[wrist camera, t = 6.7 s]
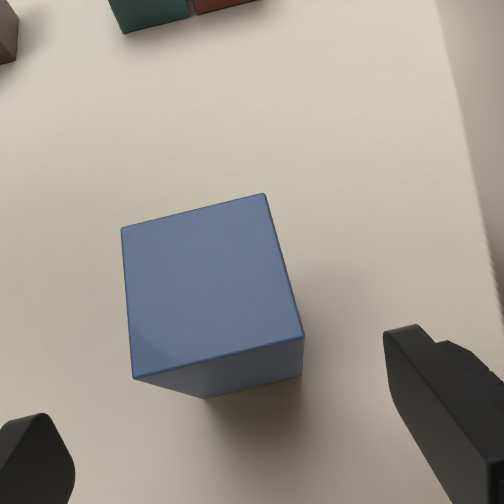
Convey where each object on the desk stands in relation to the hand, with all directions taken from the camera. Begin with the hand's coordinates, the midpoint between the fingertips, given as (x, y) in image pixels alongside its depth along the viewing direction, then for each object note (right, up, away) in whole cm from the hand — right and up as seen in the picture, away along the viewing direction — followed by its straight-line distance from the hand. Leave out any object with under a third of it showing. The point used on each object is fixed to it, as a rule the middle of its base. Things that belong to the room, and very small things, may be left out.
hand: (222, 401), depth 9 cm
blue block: (0, 0, +9) cm, 9 cm away
